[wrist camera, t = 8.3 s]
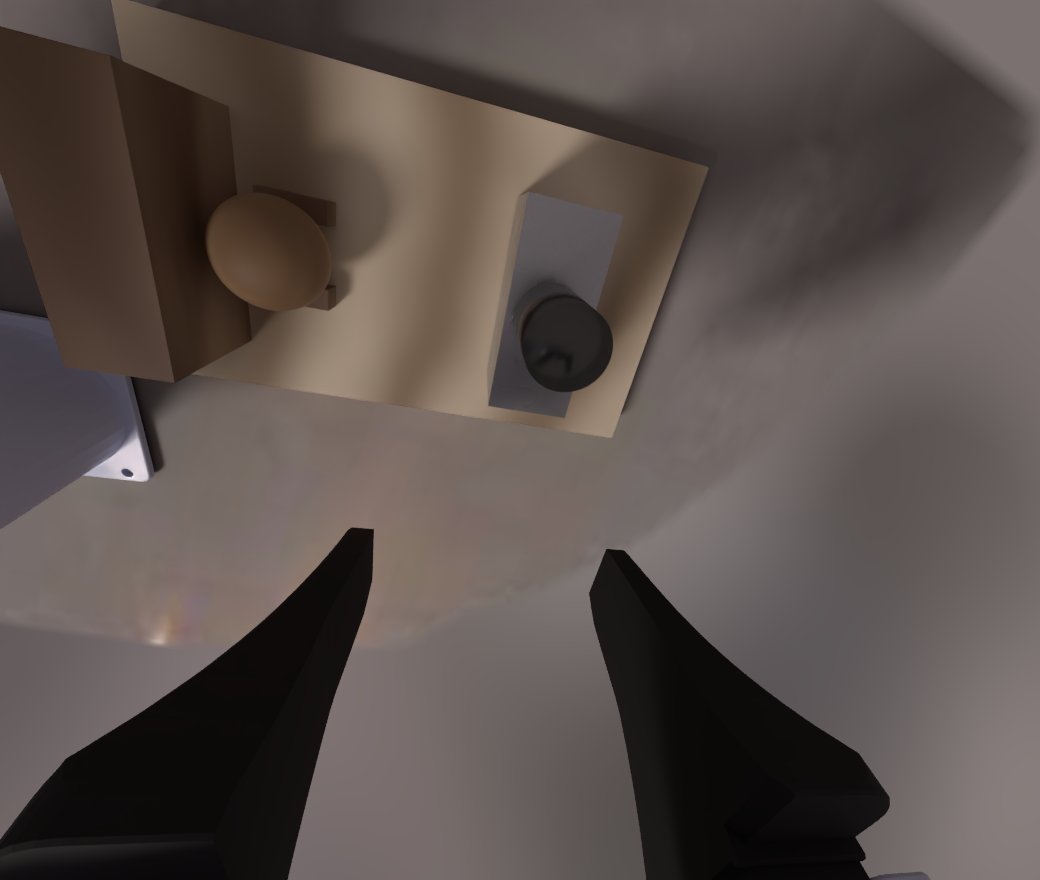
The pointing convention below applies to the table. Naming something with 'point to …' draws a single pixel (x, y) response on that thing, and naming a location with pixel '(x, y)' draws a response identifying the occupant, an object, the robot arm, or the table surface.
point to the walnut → (268, 251)
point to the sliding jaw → (551, 306)
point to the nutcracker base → (324, 197)
